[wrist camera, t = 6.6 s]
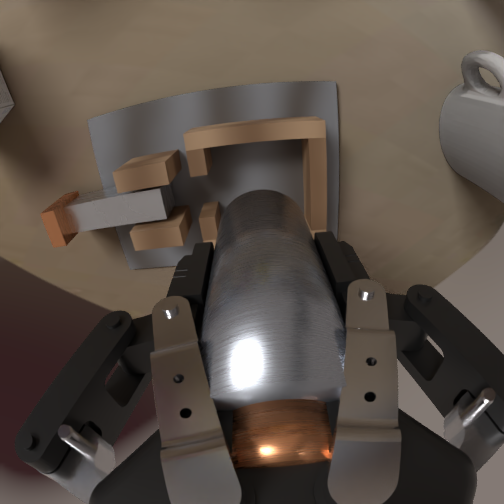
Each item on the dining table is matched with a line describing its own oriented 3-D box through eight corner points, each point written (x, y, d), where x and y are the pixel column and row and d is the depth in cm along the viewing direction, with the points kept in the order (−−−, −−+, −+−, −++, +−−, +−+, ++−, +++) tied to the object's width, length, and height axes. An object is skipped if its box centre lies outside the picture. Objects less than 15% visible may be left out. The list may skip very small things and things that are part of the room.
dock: (334, 81, 18) (353, 80, 15) (335, 248, 26) (348, 276, 23) (89, 119, 19) (61, 128, 16) (131, 267, 27) (116, 295, 23)
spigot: (305, 185, 13) (412, 425, 4) (306, 263, 16) (358, 478, 6) (212, 194, 13) (151, 448, 4) (225, 270, 16) (209, 491, 6)
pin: (168, 171, 21) (152, 190, 18) (176, 208, 23) (163, 232, 20) (65, 194, 22) (40, 213, 18) (75, 224, 24) (53, 247, 20)
